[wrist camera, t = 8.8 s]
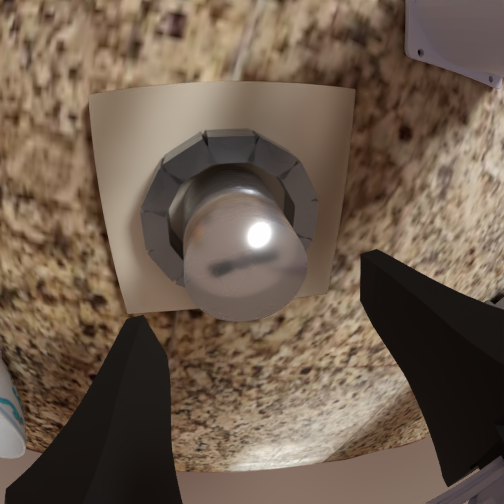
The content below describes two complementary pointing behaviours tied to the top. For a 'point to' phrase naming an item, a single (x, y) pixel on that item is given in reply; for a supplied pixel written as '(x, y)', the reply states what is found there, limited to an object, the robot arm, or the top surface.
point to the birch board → (214, 165)
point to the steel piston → (238, 247)
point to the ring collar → (219, 152)
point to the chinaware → (10, 416)
